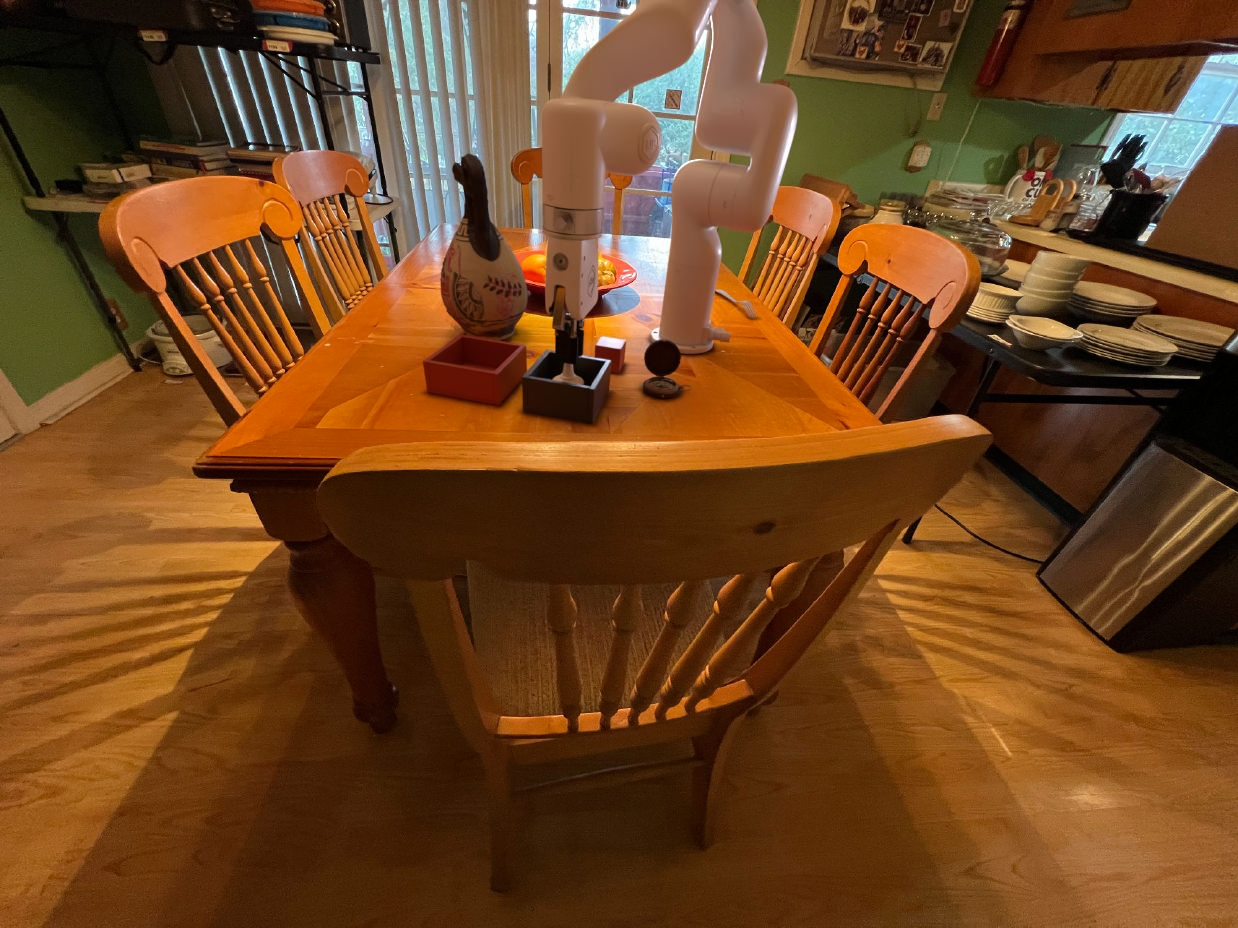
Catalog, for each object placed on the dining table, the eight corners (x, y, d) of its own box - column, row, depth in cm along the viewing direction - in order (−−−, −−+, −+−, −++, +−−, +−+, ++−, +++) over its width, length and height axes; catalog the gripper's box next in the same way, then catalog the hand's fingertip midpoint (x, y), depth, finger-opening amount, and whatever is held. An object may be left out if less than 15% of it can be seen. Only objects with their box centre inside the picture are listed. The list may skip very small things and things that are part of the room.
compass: (643, 398, 80) (648, 355, 76) (641, 377, 87) (646, 336, 83) (693, 402, 81) (700, 359, 77) (687, 380, 87) (694, 340, 83)
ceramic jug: (440, 322, 100) (417, 144, 83) (517, 317, 106) (511, 150, 88) (453, 356, 88) (430, 155, 70) (540, 349, 93) (537, 161, 76)
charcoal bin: (609, 392, 81) (611, 360, 78) (592, 424, 73) (594, 389, 69) (546, 381, 83) (546, 349, 79) (522, 411, 74) (521, 377, 71)
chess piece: (547, 390, 74) (547, 324, 69) (556, 376, 78) (557, 313, 73) (580, 395, 74) (582, 329, 68) (587, 380, 78) (590, 317, 72)
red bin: (527, 374, 84) (526, 345, 81) (499, 405, 75) (497, 374, 72) (462, 362, 86) (459, 334, 83) (427, 392, 76) (422, 361, 73)
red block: (624, 363, 91) (626, 340, 88) (618, 373, 87) (620, 349, 85) (599, 359, 91) (601, 336, 89) (593, 369, 88) (595, 345, 85)
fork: (720, 299, 135) (721, 289, 134) (758, 318, 118) (761, 306, 117) (710, 300, 135) (711, 289, 133) (748, 318, 117) (750, 306, 116)
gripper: (584, 236, 56) (578, 386, 67) (615, 215, 69) (606, 343, 80) (520, 228, 57) (525, 376, 68) (563, 208, 70) (561, 335, 80)
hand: (569, 357), depth 73 cm, fingers closed on chess piece
